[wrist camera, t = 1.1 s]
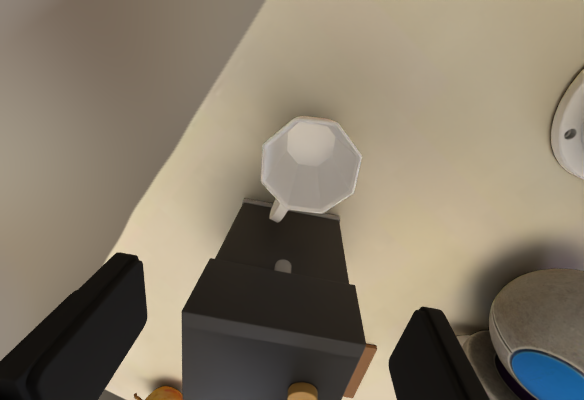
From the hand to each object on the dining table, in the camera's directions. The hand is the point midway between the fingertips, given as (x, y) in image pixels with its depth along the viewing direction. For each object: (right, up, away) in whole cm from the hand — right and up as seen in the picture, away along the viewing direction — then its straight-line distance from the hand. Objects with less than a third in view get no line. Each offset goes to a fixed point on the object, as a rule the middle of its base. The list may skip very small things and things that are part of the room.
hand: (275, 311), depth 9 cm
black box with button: (0, 0, +21) cm, 21 cm away
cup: (+2, +8, +17) cm, 19 cm away
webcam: (+25, -17, +20) cm, 36 cm away
